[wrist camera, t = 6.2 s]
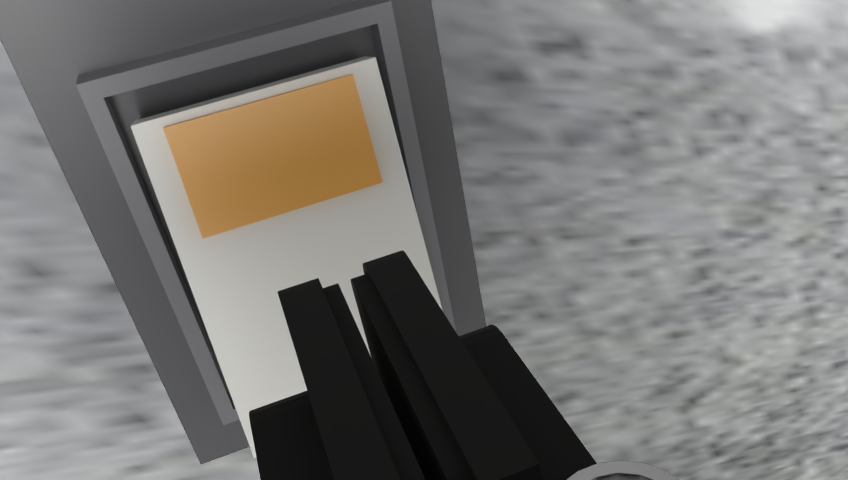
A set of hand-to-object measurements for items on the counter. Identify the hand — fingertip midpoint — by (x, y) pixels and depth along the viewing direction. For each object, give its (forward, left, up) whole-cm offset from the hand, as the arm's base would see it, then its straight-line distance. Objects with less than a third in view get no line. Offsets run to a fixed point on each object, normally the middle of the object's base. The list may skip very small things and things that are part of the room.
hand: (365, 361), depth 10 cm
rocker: (-2, +1, -8) cm, 8 cm away
